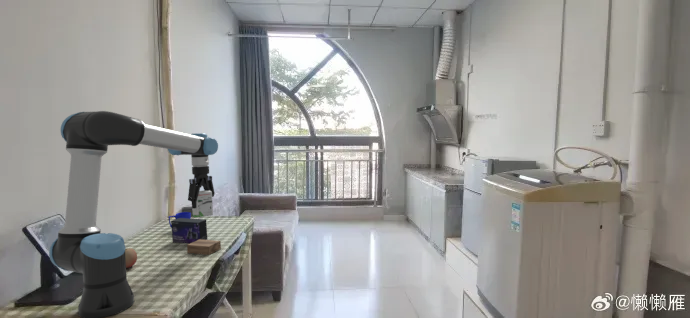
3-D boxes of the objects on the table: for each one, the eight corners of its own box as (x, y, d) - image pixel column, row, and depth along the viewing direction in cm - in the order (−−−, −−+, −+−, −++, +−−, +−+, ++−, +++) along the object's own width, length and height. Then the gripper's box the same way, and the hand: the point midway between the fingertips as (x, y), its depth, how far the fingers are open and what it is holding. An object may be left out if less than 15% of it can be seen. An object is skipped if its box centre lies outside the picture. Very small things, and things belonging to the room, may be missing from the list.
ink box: (194, 217, 165) (193, 192, 165) (192, 216, 170) (191, 191, 169) (213, 215, 170) (212, 190, 169) (211, 213, 174) (209, 189, 173)
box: (171, 243, 185) (170, 220, 184) (180, 239, 191) (179, 217, 191) (200, 245, 181) (199, 221, 180) (208, 241, 187) (207, 218, 186)
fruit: (118, 265, 153) (117, 247, 153) (139, 263, 156) (138, 245, 156) (113, 272, 146) (112, 253, 145) (135, 269, 149) (134, 250, 148)
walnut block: (209, 254, 165) (208, 246, 165) (187, 253, 168) (187, 244, 168) (220, 248, 174) (220, 240, 174) (199, 247, 177) (199, 239, 177)
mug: (169, 230, 210) (168, 213, 209) (191, 227, 215) (190, 211, 214) (168, 233, 203) (168, 216, 202) (191, 230, 208) (191, 214, 207)
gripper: (191, 168, 157) (194, 218, 158) (221, 163, 178) (223, 208, 179) (177, 168, 159) (179, 217, 160) (208, 163, 180) (210, 207, 181)
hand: (202, 212), depth 170 cm, fingers closed on ink box, 9 cm apart
